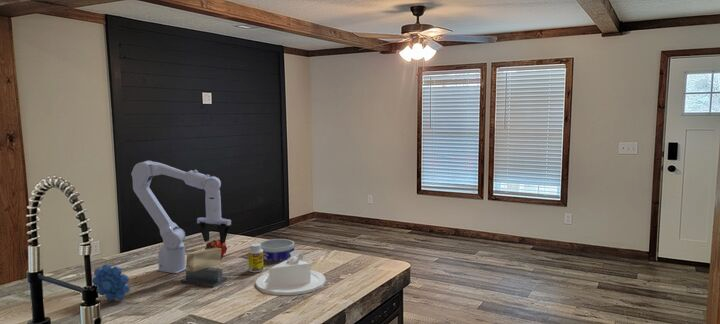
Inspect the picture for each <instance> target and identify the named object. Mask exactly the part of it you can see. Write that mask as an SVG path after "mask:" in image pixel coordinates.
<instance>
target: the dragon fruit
mask: <svg viewBox="0 0 720 324" xmlns="http://www.w3.org/2000/svg"><path fill="white" fill-rule="evenodd" d="M205 246H206V247H205V248H204V250H206V249H210V248H222V249H221V259H223V258H224V255H225V254H226V252H227V250H228V248H227V243H226V242H225V243H222V244H221V243H220V238H219V239H214V240H212V241H210V242H209V241H208V242H207V243H206V244H205Z"/></svg>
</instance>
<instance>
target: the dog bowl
mask: <svg viewBox="0 0 720 324" xmlns="http://www.w3.org/2000/svg"><path fill="white" fill-rule="evenodd" d="M258 244H261V249H263V262H269V263H281V262H283V261H286V260H287V259H288V258H290V257H291V255H290V252H292V251H294V250H295V241H293V240H291V239H285V238H273V239H267V240H263V241H260V242H259V243H258Z"/></svg>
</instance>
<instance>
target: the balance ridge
mask: <svg viewBox="0 0 720 324" xmlns="http://www.w3.org/2000/svg"><path fill="white" fill-rule="evenodd" d="M226 281H228V277H226V276H223V268H218V267H217V268H216V267H209V268H205V269H201V270H197V271H194V272H192V271H186V270H185V277H183V278H182V279H180V283H182V284H188V285H195V286H199V287H200V286H202V287H208V288H215V287H217V286H218V285H220V284H222V283H225V282H226Z"/></svg>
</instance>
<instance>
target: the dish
mask: <svg viewBox="0 0 720 324" xmlns="http://www.w3.org/2000/svg"><path fill="white" fill-rule="evenodd" d="M290 255H291V257H290V258H288V259H287V260H286V261H281V262H278V263H277V264H275V265H273V266H272V267H269V269H268V272H267V273H264V274H261V275H260V276H259V277H258V278H257V279H256V281H255V287H256V288H257V290H259V291H260V292H262V293H265V294H269V295H276V296H298V295H305V294H310V293H311V292H312V293H313V292H315V291H317V290H320V289H322V288H323V287H324V286H325V285H326V276H325V275H324V274H323V273H321V272H318V271H316V270H311V263H310V262H308V261H305V260H303V259H304V257H305V252H304V253H302V252H301V251H300V250H298V249H296V250H295V249H294V251H292V252H290ZM324 284H325V285H324Z"/></svg>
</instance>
